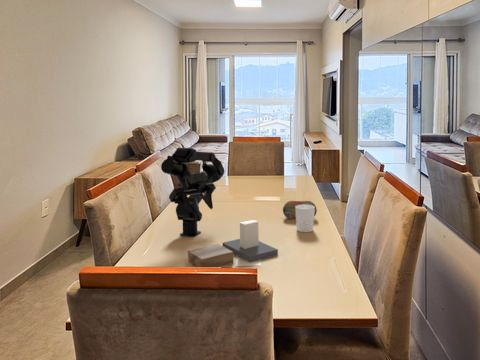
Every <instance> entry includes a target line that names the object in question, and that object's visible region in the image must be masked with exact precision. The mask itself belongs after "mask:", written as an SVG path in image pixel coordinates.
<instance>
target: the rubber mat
mask: <svg viewBox="0 0 480 360" xmlns="http://www.w3.org/2000/svg"><path fill="white" fill-rule="evenodd" d="M222 246H223V247H225V248H227V249H229V250H231V251H233V255H235V256H237V257H238V258H239V257H240V259H241V258H242V259H243V260H245V261H246V262H248V263H252V262H256V261H259V260H260V261H261V260H263V259H267V258H270V257H273V256H274V257H275V256H278V255H279V253H278V252H279V249H278V248H275V247H273V246H271V245H269V244H267V243H264V242H262V241H260V240H259V246H255V247H250V248H246V249H244V248H242V247H240V238H237V239H233V240H228V241H224V242H222Z"/></svg>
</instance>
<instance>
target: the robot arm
mask: <svg viewBox="0 0 480 360" xmlns="http://www.w3.org/2000/svg"><path fill="white" fill-rule="evenodd" d="M166 157H167V158H165V159H164V160H163V161H162V163H161V165H160V170H161V171H162V172H163V173H164V174H167V175H169V176H172V177H176V179H177V181H178V187H174V188H173V189H172V191H171V192H170V194H169V196H168V198H169V201H170V203H174V204H177V205H176V207H175V214H176V216H177V220H178V221H182V232H181V233H179V236H180V237H181V236H183V237H189V238H190V237H191V238H194V237H196V236H198V235H199V234H201V233H202V231H199V230H198V222H201V220H202V219H203V214H202V212H201V211H200V207H199V204H200V203H201V201H204V203H205V204H206V205H207V207H208V208H209V209H210V210H213V209H214V206H213V200H212V194H213V193H214V192H215V190H216V188H217V187H216V185H215V182H218V181H220V180H221V178H222V177H223V176H224V174H225V168H224V165H223V163H222V161H220V160H219V159H218V158H217V157H216V154H215V153H214V152H211V151H209V152H207V151H198V150H196V149H195V148H194V147H193V148H192V147H176V149H175V151H174V152H173V153H172V155H167V156H166ZM196 161H199V162H200V161H201V162H202V166H201V169H202V171H201V172H198V173H197V172H196V173H193V174H192V173H191V171H190V167H189V166H188V165H187V164H189V163H195V162H196ZM207 162H210V163H211V164H207Z"/></svg>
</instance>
